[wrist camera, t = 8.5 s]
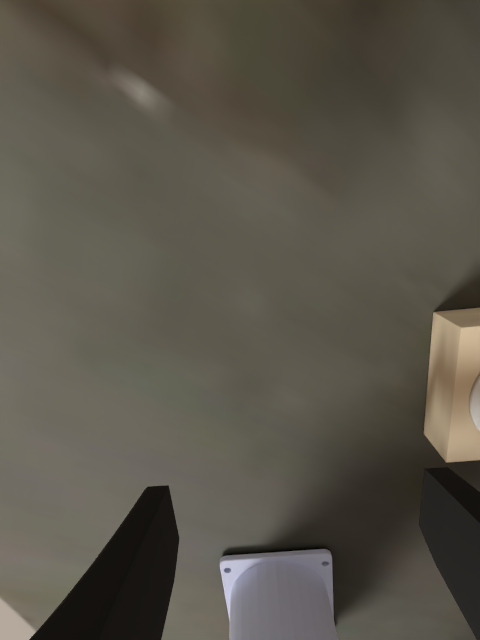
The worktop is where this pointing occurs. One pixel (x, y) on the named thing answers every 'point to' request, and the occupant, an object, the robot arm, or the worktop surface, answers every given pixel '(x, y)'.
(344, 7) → the worktop surface
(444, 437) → the base block
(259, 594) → the robot arm
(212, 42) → the worktop surface
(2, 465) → the worktop surface
